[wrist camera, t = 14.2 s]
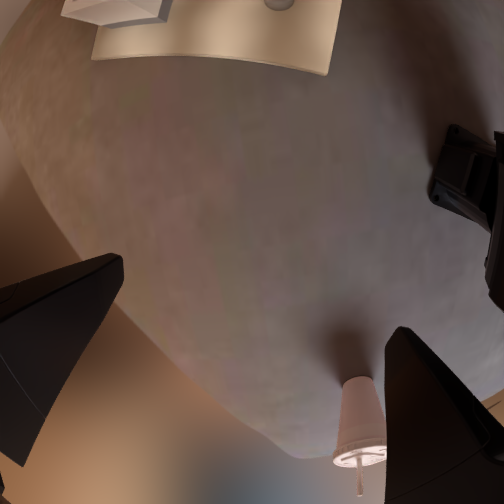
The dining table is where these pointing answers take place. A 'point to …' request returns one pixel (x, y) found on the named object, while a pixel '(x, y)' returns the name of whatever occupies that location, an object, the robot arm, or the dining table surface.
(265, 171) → the dining table surface
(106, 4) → the sleeve
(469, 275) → the dining table surface
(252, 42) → the pin board
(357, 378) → the smoothie
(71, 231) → the dining table surface
